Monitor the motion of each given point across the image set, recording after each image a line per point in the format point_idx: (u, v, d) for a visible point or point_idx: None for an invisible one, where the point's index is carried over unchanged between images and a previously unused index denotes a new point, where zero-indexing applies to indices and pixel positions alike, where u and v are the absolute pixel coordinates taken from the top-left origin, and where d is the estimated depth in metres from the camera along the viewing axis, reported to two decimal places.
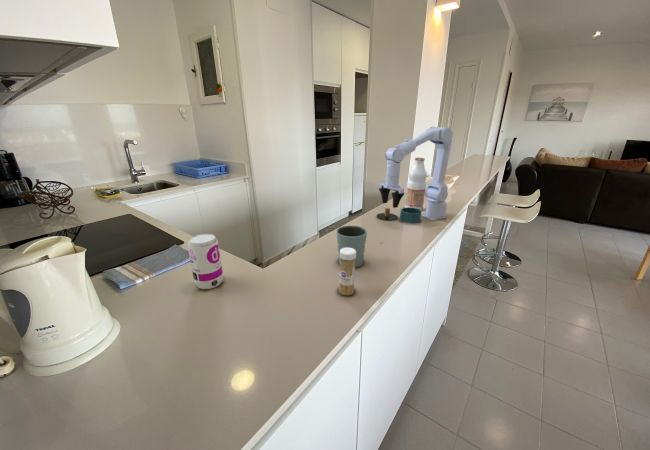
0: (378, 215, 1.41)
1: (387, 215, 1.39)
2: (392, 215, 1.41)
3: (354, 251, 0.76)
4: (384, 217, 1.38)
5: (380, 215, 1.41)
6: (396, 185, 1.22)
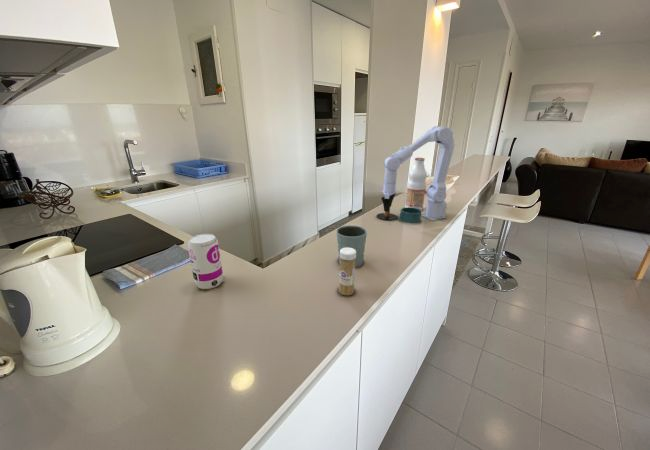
0: (378, 215, 1.41)
1: (387, 215, 1.39)
2: (392, 215, 1.41)
3: (354, 251, 0.76)
4: (384, 217, 1.38)
5: (380, 215, 1.41)
6: (389, 191, 1.33)
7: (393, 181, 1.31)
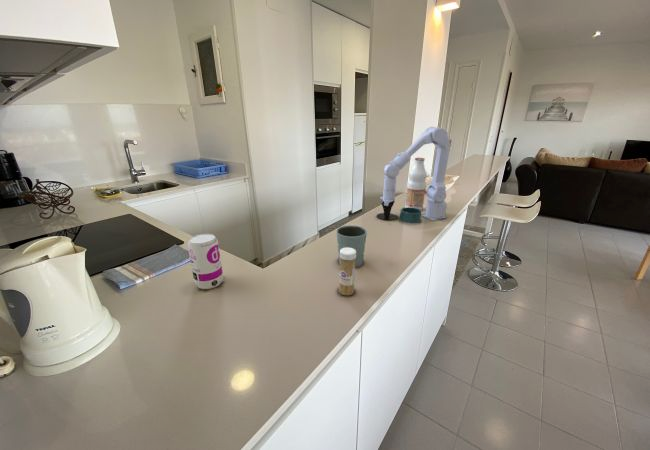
0: (378, 215, 1.41)
1: None
2: (392, 215, 1.41)
3: (354, 251, 0.76)
4: (384, 217, 1.38)
5: (380, 215, 1.41)
6: (388, 198, 1.34)
7: (392, 188, 1.32)
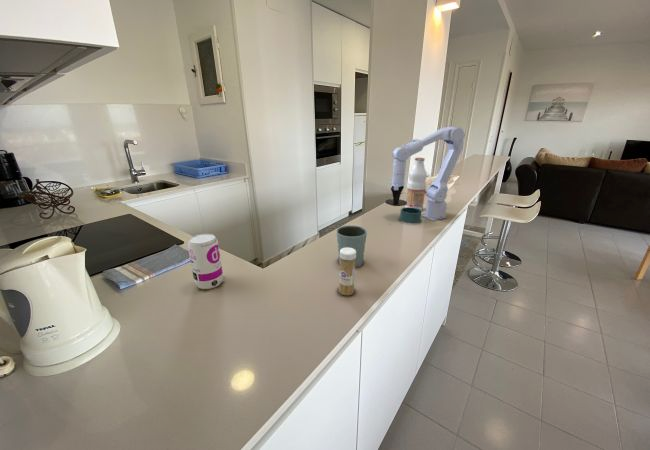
0: (387, 201, 1.37)
1: None
2: (401, 201, 1.37)
3: (354, 251, 0.76)
4: (393, 203, 1.34)
5: (389, 201, 1.37)
6: (398, 182, 1.30)
7: (402, 172, 1.29)
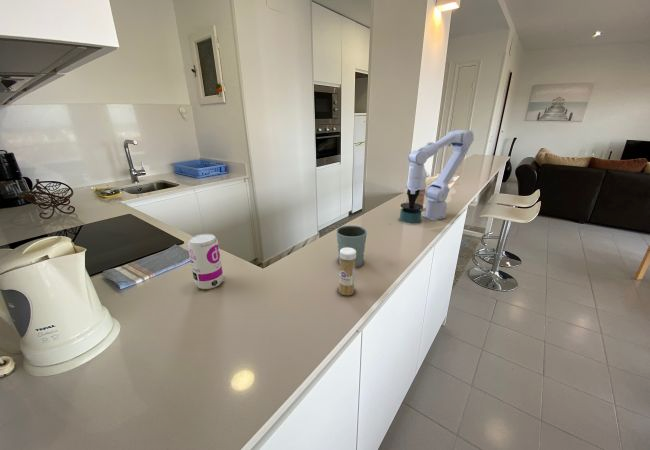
0: (402, 205, 1.35)
1: None
2: (417, 205, 1.35)
3: (354, 251, 0.76)
4: (409, 206, 1.32)
5: (404, 205, 1.35)
6: (414, 186, 1.28)
7: (420, 176, 1.27)
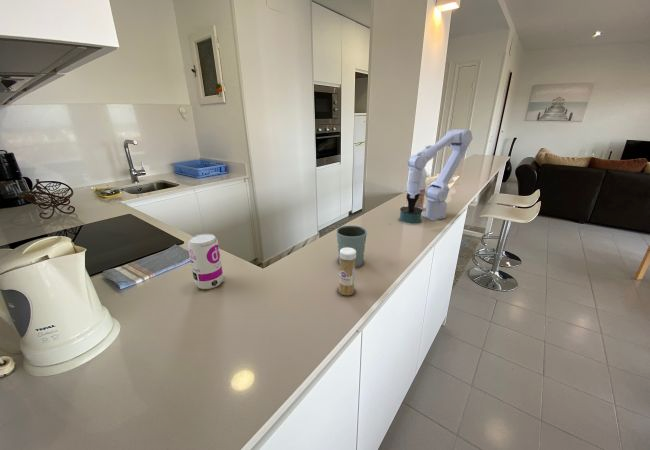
0: (402, 208, 1.36)
1: None
2: (416, 208, 1.36)
3: (354, 251, 0.76)
4: (408, 210, 1.33)
5: (404, 208, 1.36)
6: (414, 190, 1.29)
7: (420, 180, 1.28)
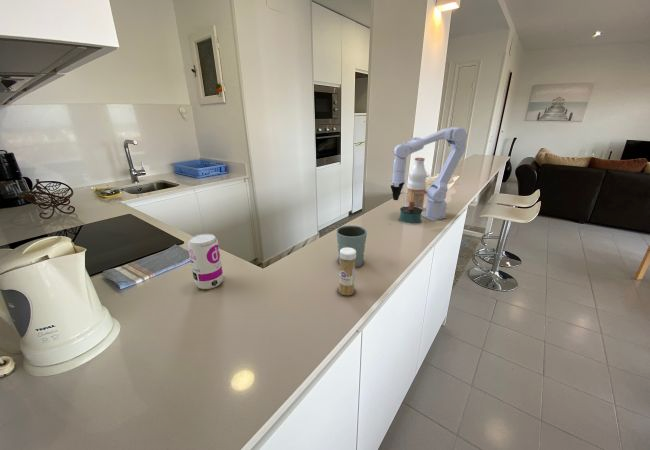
0: (402, 208, 1.36)
1: (411, 208, 1.34)
2: (416, 208, 1.36)
3: (354, 251, 0.76)
4: (408, 210, 1.33)
5: (404, 208, 1.36)
6: (398, 179, 1.32)
7: (402, 169, 1.30)
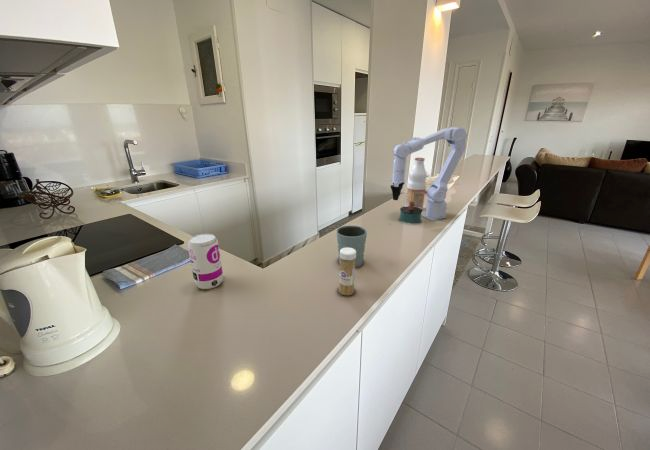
0: (402, 208, 1.36)
1: (411, 208, 1.34)
2: (416, 208, 1.36)
3: (354, 251, 0.76)
4: (408, 210, 1.33)
5: (404, 208, 1.36)
6: (398, 179, 1.32)
7: (402, 169, 1.30)
